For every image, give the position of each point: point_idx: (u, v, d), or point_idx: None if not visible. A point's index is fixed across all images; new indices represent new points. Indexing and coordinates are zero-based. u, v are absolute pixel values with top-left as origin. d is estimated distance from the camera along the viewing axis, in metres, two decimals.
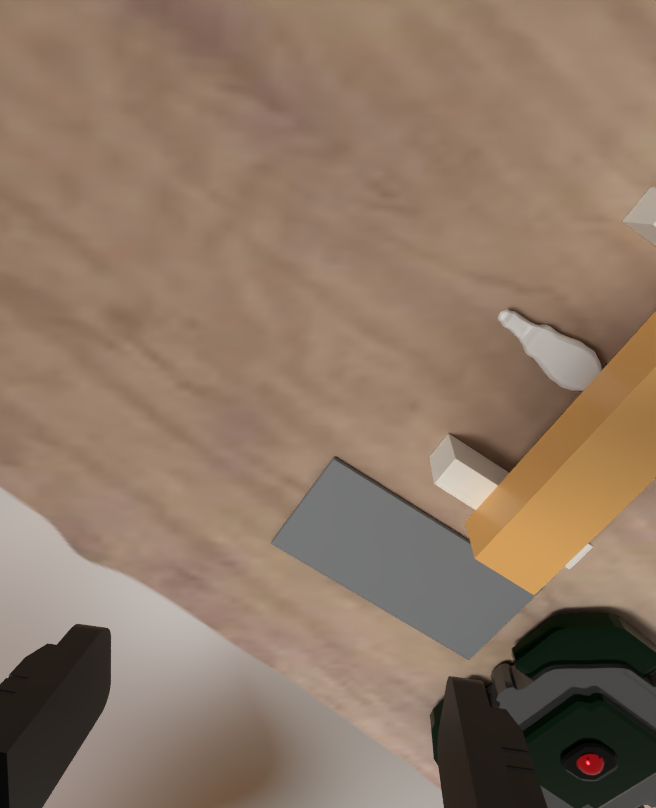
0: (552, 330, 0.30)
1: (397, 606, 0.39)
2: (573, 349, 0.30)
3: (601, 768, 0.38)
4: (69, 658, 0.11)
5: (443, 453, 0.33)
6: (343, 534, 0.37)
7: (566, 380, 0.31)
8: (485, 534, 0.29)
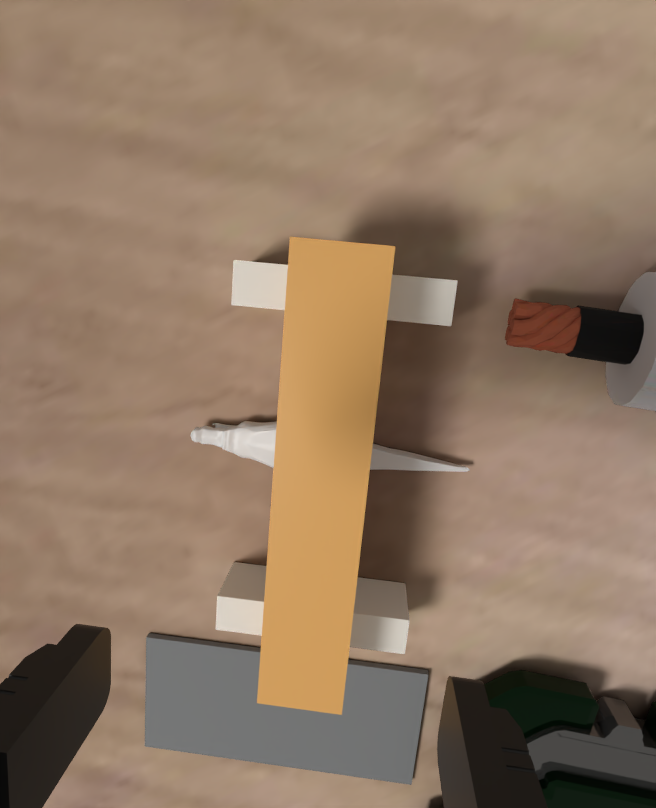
0: (246, 425, 0.29)
1: (302, 758, 0.34)
2: (272, 433, 0.28)
3: None
4: (69, 658, 0.11)
5: None
6: (202, 706, 0.34)
7: None
8: None
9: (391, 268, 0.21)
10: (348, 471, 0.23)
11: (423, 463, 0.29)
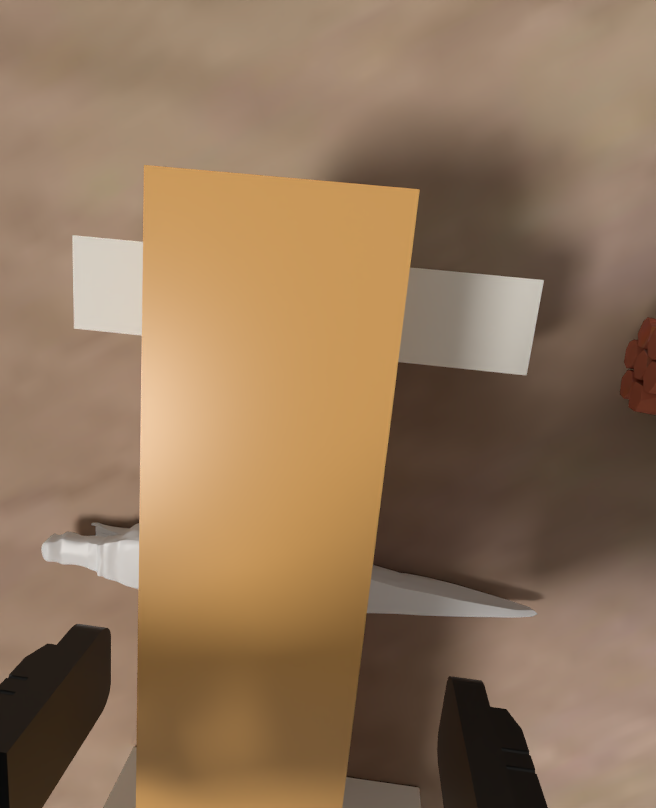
0: (138, 535, 0.16)
1: None
2: None
3: None
4: (69, 658, 0.11)
5: None
6: None
7: None
8: None
9: (408, 248, 0.08)
10: (304, 715, 0.10)
11: (454, 604, 0.16)
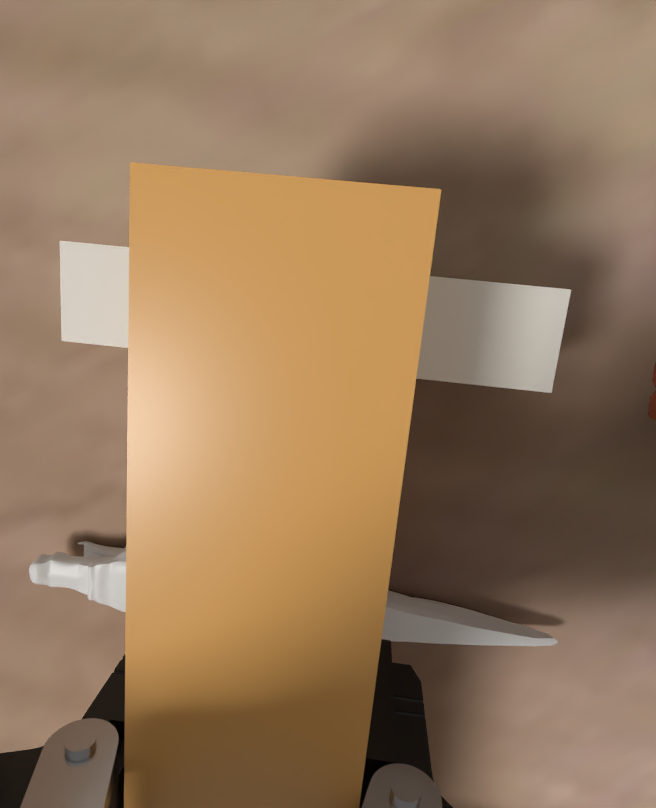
0: None
1: None
2: None
3: None
4: None
5: None
6: None
7: None
8: None
9: (428, 256, 0.07)
10: (309, 771, 0.09)
11: (469, 632, 0.15)
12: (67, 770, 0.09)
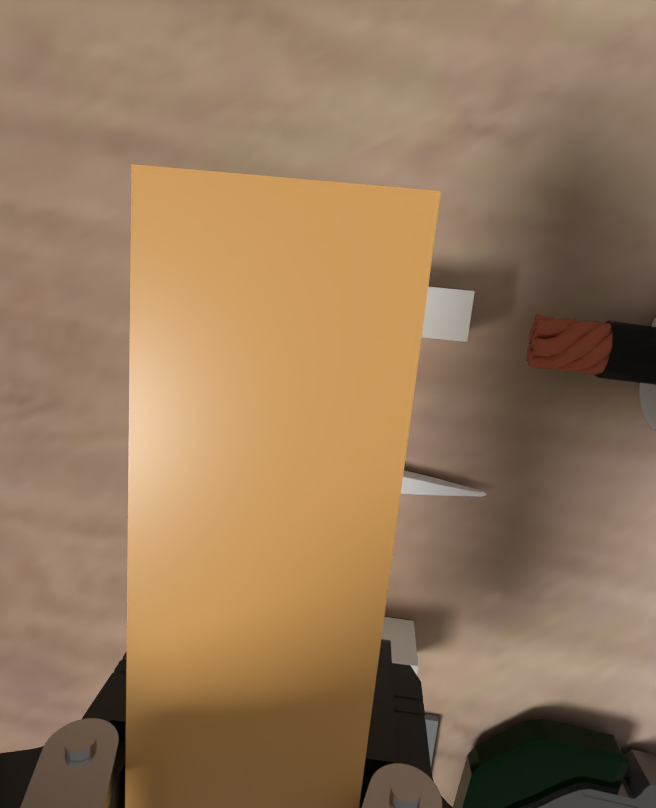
0: None
1: None
2: None
3: None
4: None
5: None
6: None
7: None
8: None
9: (427, 257, 0.07)
10: (309, 769, 0.09)
11: (434, 487, 0.26)
12: (67, 770, 0.09)
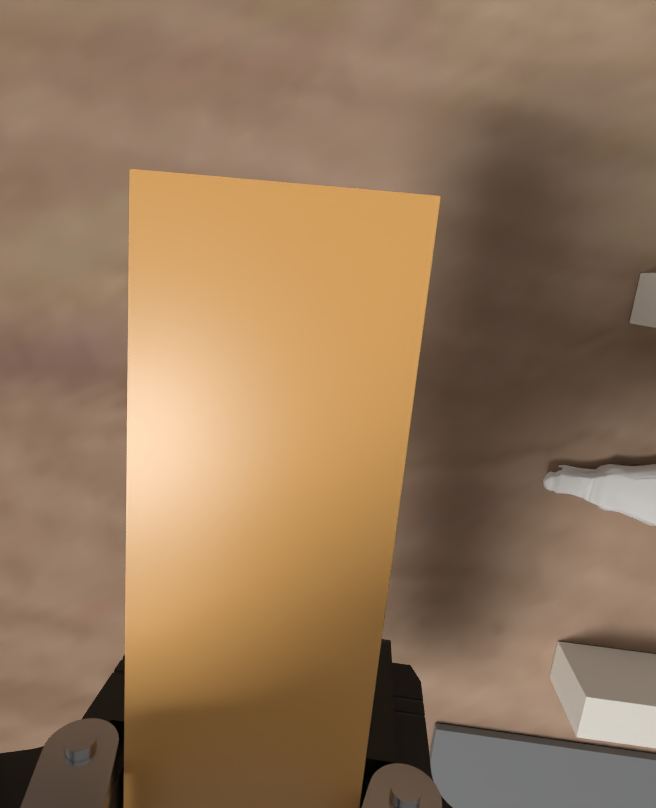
0: (620, 471, 0.23)
1: None
2: None
3: None
4: None
5: (566, 678, 0.24)
6: None
7: None
8: None
9: (427, 262, 0.07)
10: (308, 776, 0.09)
11: None
12: (67, 770, 0.09)
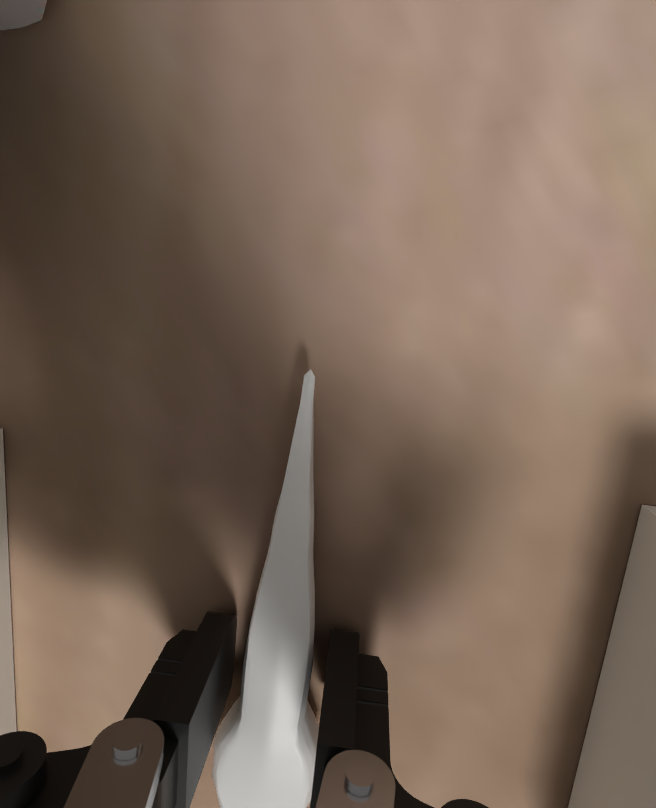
0: None
1: None
2: (227, 801, 0.13)
3: None
4: (213, 642, 0.12)
5: None
6: None
7: (296, 783, 0.13)
8: None
9: None
10: None
11: (290, 487, 0.12)
12: (116, 769, 0.09)
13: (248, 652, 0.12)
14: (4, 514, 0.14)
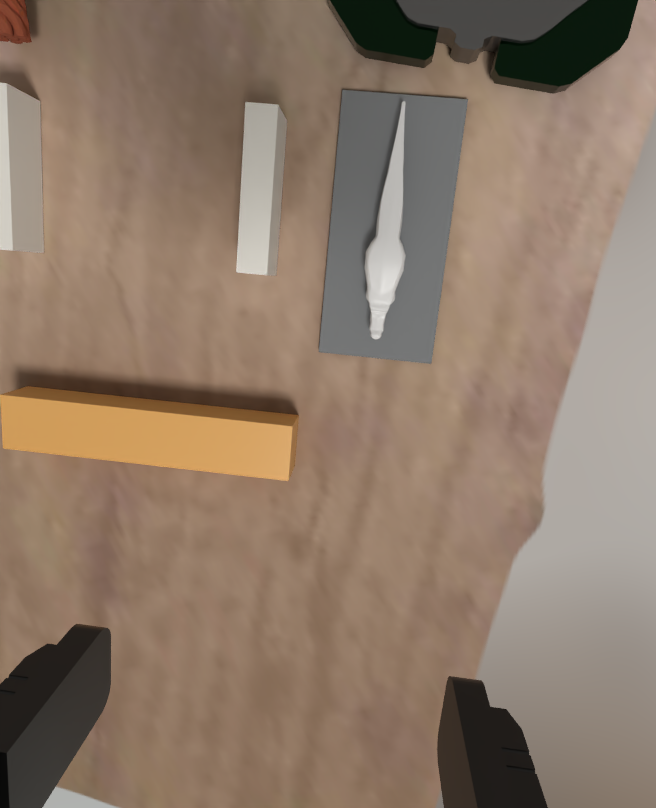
0: (367, 294, 0.36)
1: (439, 212, 0.36)
2: (371, 271, 0.36)
3: None
4: (69, 658, 0.11)
5: None
6: None
7: (397, 259, 0.35)
8: None
9: (11, 396, 0.39)
10: (124, 420, 0.38)
11: (397, 142, 0.34)
12: None
13: (380, 209, 0.35)
14: (40, 136, 0.37)
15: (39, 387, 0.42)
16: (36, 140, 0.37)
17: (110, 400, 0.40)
